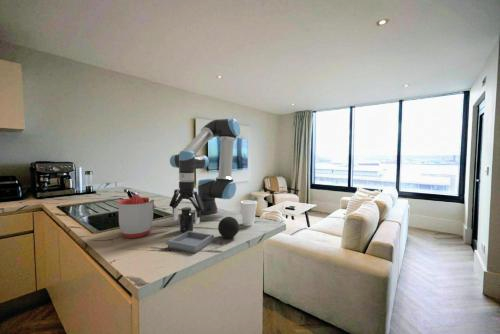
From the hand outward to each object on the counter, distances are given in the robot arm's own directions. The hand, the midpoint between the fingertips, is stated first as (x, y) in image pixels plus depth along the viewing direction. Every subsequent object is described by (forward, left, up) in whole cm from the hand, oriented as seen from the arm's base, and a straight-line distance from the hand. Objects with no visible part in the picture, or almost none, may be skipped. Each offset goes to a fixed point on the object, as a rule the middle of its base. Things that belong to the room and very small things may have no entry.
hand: (186, 221), depth 113 cm
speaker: (-1, +24, -5) cm, 25 cm away
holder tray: (+13, +13, -5) cm, 19 cm away
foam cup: (-24, +25, -5) cm, 35 cm away
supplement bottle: (0, 0, -5) cm, 5 cm away
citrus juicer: (+13, -19, -5) cm, 24 cm away
